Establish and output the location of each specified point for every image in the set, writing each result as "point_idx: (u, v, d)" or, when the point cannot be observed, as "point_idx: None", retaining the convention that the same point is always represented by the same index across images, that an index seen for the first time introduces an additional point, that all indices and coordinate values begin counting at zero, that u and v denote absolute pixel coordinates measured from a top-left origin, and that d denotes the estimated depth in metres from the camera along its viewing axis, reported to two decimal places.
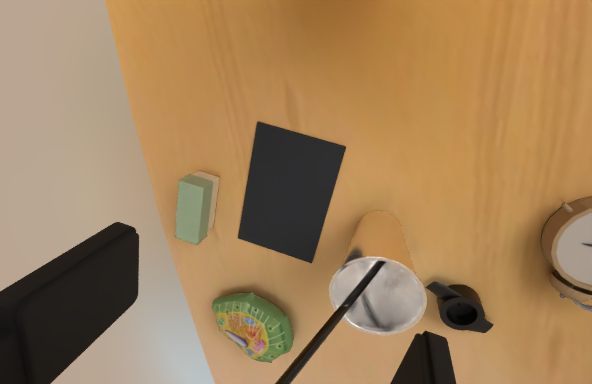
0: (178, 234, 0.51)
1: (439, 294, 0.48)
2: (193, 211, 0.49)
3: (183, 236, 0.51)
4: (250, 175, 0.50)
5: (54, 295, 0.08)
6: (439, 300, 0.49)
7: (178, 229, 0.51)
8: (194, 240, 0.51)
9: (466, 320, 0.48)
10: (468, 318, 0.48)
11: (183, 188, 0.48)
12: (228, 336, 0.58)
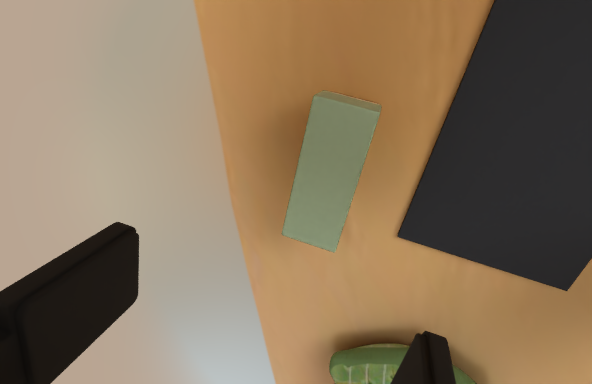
0: (291, 229, 0.23)
1: None
2: (339, 174, 0.21)
3: (302, 233, 0.23)
4: (462, 93, 0.22)
5: (55, 295, 0.08)
6: None
7: (293, 217, 0.23)
8: (329, 241, 0.23)
9: None
10: None
11: (323, 116, 0.20)
12: None
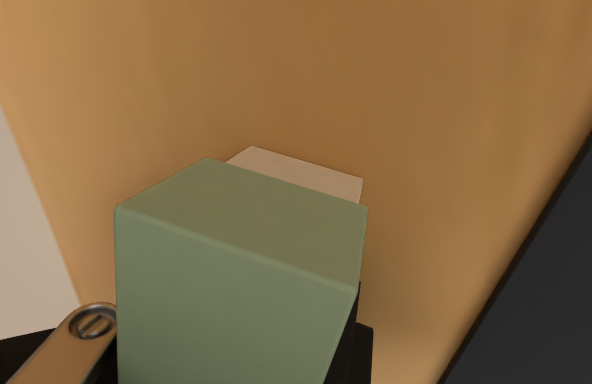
0: None
1: None
2: None
3: None
4: None
5: None
6: None
7: None
8: None
9: None
10: None
11: (157, 277, 0.05)
12: None
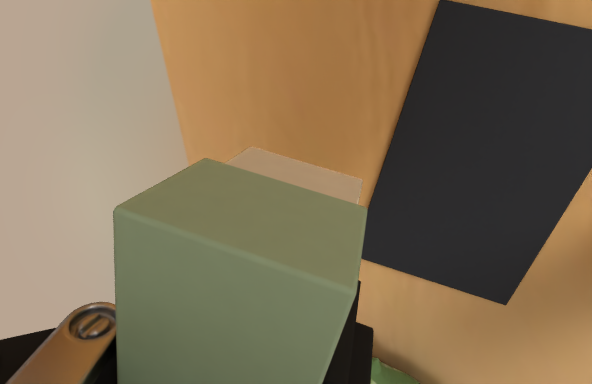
0: None
1: None
2: None
3: None
4: (401, 127, 0.24)
5: None
6: None
7: None
8: None
9: None
10: None
11: (156, 278, 0.06)
12: None
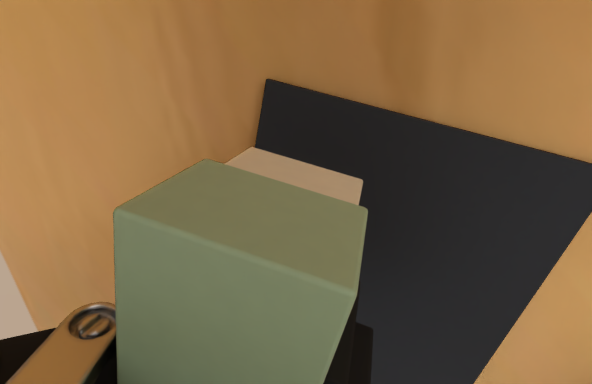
0: None
1: None
2: None
3: None
4: None
5: None
6: None
7: None
8: None
9: None
10: None
11: (156, 279, 0.05)
12: None
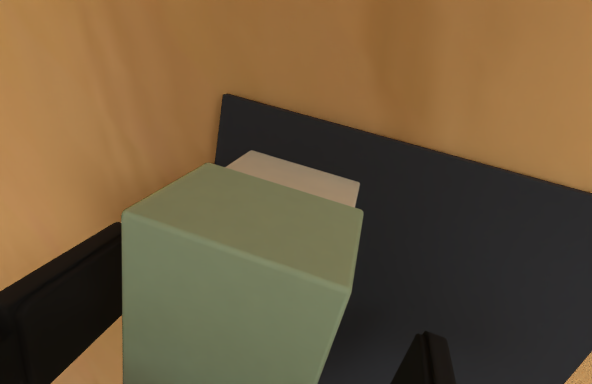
0: None
1: None
2: None
3: None
4: None
5: (54, 295, 0.08)
6: None
7: None
8: None
9: None
10: None
11: (161, 278, 0.06)
12: None
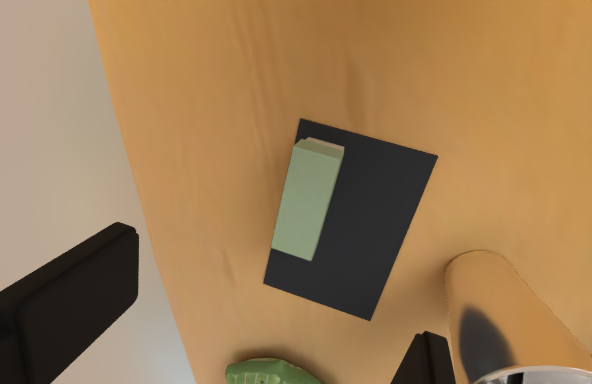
0: (277, 243, 0.30)
1: None
2: (313, 202, 0.28)
3: (286, 246, 0.30)
4: None
5: (54, 295, 0.08)
6: None
7: (279, 234, 0.30)
8: (307, 252, 0.30)
9: None
10: None
11: (300, 161, 0.27)
12: None
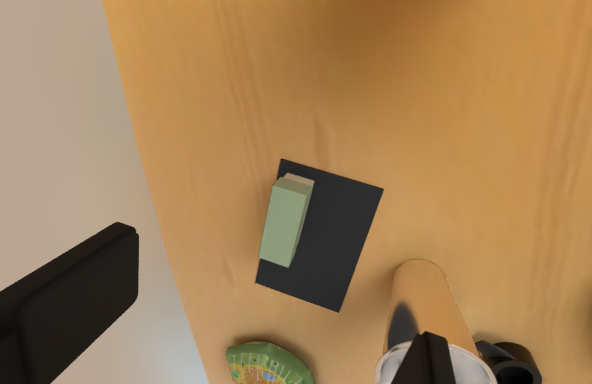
0: (263, 254, 0.40)
1: (487, 354, 0.42)
2: (288, 225, 0.38)
3: (270, 256, 0.40)
4: None
5: (54, 295, 0.08)
6: (486, 360, 0.43)
7: (264, 247, 0.40)
8: (285, 261, 0.40)
9: (518, 383, 0.42)
10: (520, 381, 0.42)
11: (278, 195, 0.37)
12: None
